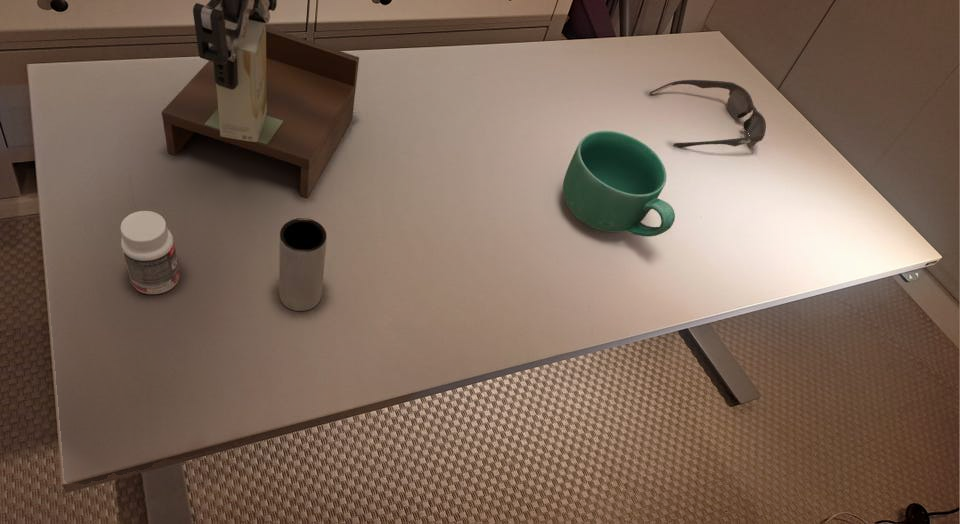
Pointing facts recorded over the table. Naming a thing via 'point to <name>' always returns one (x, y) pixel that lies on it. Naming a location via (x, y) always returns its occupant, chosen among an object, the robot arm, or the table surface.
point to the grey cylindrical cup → (301, 263)
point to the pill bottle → (149, 252)
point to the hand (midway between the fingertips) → (242, 67)
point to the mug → (616, 184)
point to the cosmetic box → (246, 87)
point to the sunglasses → (737, 107)
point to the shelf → (279, 105)
